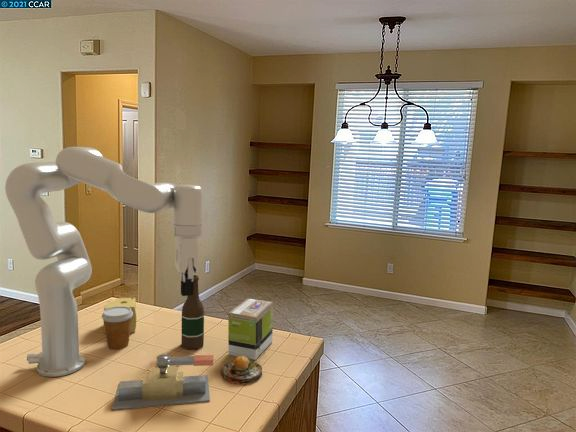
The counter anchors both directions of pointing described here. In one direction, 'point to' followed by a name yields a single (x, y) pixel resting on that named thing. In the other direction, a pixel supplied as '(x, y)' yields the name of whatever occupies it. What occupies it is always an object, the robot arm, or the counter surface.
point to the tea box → (250, 328)
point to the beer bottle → (193, 320)
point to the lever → (184, 360)
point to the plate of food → (242, 371)
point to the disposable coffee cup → (117, 326)
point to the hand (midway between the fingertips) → (187, 294)
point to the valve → (162, 385)
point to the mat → (146, 403)
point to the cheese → (127, 303)
